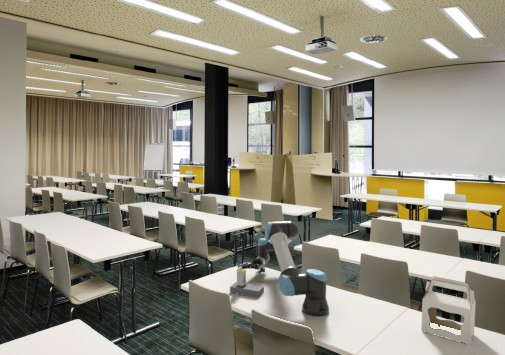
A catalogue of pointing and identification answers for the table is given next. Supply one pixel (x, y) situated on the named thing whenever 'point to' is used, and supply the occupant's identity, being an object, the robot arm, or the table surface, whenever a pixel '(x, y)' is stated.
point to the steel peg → (241, 278)
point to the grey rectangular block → (248, 290)
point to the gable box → (449, 309)
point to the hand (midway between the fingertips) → (246, 272)
